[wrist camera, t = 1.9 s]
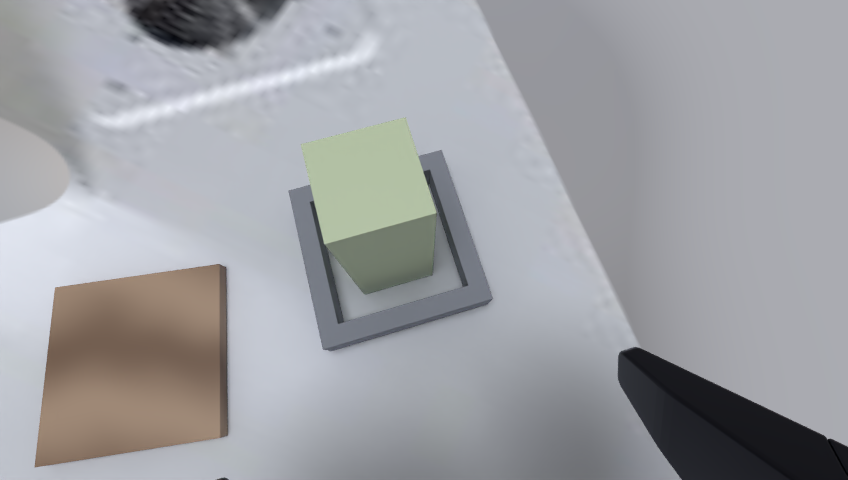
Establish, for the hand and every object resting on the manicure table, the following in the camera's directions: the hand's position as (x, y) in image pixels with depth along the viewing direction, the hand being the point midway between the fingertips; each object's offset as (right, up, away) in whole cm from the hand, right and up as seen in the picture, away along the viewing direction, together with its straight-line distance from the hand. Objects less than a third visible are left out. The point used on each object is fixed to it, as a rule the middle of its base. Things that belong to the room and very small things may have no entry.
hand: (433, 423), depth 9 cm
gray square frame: (-2, +3, +15) cm, 16 cm away
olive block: (-2, +3, +15) cm, 16 cm away
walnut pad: (-16, -2, +13) cm, 21 cm away
